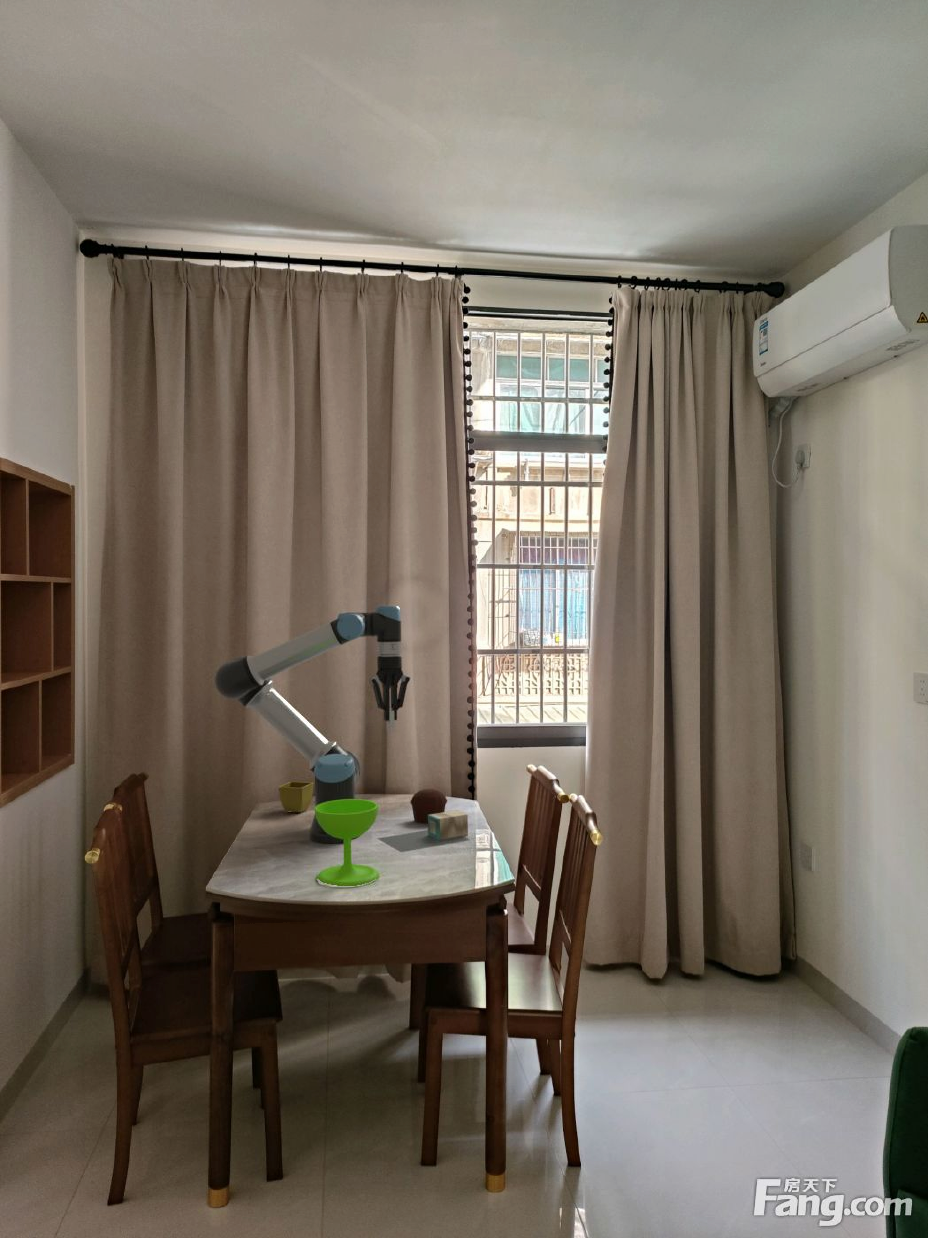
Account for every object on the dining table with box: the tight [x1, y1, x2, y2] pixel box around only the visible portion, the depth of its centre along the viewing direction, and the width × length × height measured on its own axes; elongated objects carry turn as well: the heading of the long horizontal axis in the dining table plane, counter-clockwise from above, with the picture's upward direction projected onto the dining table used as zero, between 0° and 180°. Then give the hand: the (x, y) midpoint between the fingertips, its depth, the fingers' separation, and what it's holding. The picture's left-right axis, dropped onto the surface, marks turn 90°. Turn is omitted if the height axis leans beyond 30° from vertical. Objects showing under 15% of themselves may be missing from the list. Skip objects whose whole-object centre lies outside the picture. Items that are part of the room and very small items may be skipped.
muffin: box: [409, 788, 448, 825], centre depth 270 cm, size 12×11×10 cm
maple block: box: [427, 810, 469, 840], centre depth 253 cm, size 6×6×10 cm
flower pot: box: [277, 781, 314, 813], centre depth 286 cm, size 9×9×9 cm
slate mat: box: [377, 829, 471, 853], centre depth 249 cm, size 22×16×1 cm
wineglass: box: [314, 798, 380, 886], centre depth 217 cm, size 16×16×18 cm
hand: (390, 731), depth 268 cm, fingers closed
